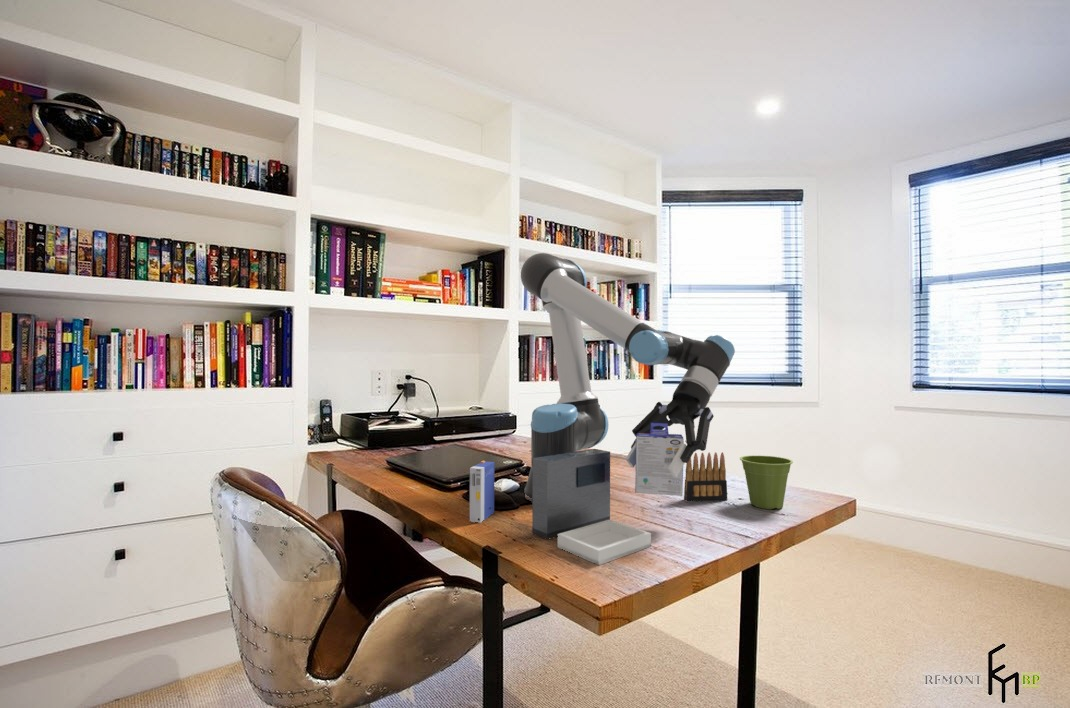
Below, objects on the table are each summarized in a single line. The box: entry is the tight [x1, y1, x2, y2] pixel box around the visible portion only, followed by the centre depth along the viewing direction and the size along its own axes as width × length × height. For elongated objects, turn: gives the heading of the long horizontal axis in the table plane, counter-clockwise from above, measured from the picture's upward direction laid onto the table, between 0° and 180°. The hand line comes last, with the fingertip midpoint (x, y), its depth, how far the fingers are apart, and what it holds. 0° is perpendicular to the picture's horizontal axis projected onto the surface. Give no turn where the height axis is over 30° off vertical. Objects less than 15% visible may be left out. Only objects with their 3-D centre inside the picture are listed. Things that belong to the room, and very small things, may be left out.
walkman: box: [469, 460, 496, 524], centre depth 114 cm, size 8×3×12 cm, turn 162°
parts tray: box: [557, 518, 652, 566], centre depth 96 cm, size 11×14×2 cm
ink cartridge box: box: [634, 423, 685, 497], centre depth 108 cm, size 10×6×14 cm, turn 79°
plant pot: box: [739, 455, 794, 510], centre depth 124 cm, size 12×12×11 cm
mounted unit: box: [531, 448, 611, 540], centre depth 107 cm, size 5×18×15 cm, turn 129°
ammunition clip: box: [683, 452, 728, 503], centre depth 129 cm, size 11×2×12 cm, turn 96°
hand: (650, 467), depth 107 cm, fingers closed on ink cartridge box, 10 cm apart
